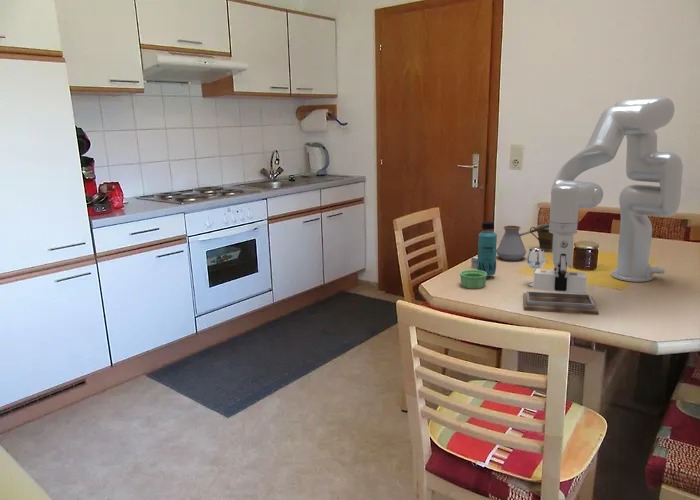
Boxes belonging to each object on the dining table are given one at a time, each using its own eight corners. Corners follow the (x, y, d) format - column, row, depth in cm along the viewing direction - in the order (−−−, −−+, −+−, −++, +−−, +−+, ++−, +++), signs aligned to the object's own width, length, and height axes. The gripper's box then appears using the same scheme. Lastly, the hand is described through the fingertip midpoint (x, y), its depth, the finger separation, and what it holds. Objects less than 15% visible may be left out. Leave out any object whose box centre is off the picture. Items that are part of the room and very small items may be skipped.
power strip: (585, 289, 153) (586, 272, 152) (584, 294, 149) (585, 277, 148) (535, 284, 160) (536, 268, 158) (533, 289, 155) (534, 272, 154)
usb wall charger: (471, 267, 198) (471, 257, 198) (484, 264, 202) (485, 254, 201) (478, 269, 195) (478, 259, 194) (492, 266, 198) (492, 256, 197)
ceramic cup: (563, 248, 220) (564, 225, 218) (558, 253, 212) (559, 229, 210) (531, 245, 227) (532, 223, 225) (526, 250, 219) (527, 227, 216)
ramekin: (454, 284, 179) (454, 271, 178) (475, 280, 183) (476, 268, 182) (470, 291, 171) (470, 278, 170) (492, 286, 175) (492, 274, 174)
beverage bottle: (474, 275, 188) (475, 220, 183) (492, 274, 188) (493, 219, 184) (480, 280, 182) (481, 224, 177) (498, 279, 182) (500, 223, 177)
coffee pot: (492, 260, 207) (493, 223, 203) (501, 253, 216) (502, 218, 212) (547, 266, 195) (549, 227, 191) (555, 259, 204) (557, 222, 201)
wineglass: (535, 288, 171) (536, 253, 168) (522, 283, 176) (523, 249, 173) (547, 285, 174) (549, 250, 171) (534, 280, 179) (536, 247, 176)
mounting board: (591, 299, 159) (592, 292, 158) (598, 314, 147) (599, 307, 146) (523, 295, 164) (523, 289, 164) (524, 310, 152) (524, 302, 152)
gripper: (580, 233, 141) (576, 297, 145) (573, 222, 157) (569, 279, 161) (551, 233, 143) (547, 295, 147) (547, 221, 159) (544, 278, 163)
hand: (559, 286), depth 154 cm, fingers closed on power strip, 5 cm apart
